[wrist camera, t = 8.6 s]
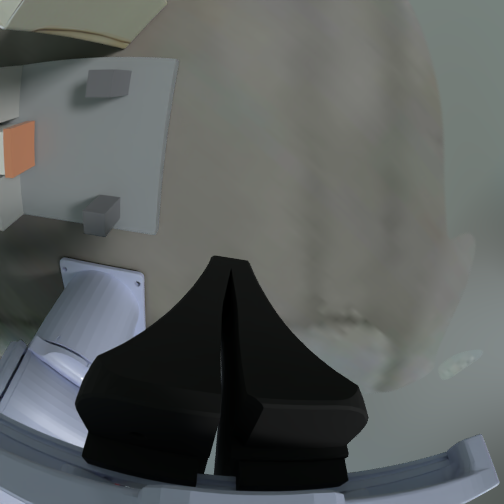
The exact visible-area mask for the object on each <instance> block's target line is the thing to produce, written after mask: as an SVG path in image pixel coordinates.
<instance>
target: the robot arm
mask: <svg viewBox="0 0 504 504" xmlns="http://www.w3.org/2000/svg"><path fill="white" fill-rule="evenodd" d="M65 267H66V268H67V269H66V268H65ZM60 268H61V274H62V279H63V284H64V290H63V292H62V293H61V295H60V296H59V298H58V299H57V301H56V302H55V304H54V305H53V307H52V308H51V310H50V312H49V313H48V315H47V316H46V318H45V319H44V321H43V323H42V324H41V326H40V328H39V329H38V331H37V333H36V334H35V336H34V338H33V339H32V341H31V342H30V343H29V345H28V346H27V345H26V344H25V343H24V342H23V341H22V340H19V341H18V342H17V341H12V342H10V344H9V346H8V347H7V349H6V351H5V352H4V354H3V356H2V357H1V359H0V504H465V503H467V502H468V501H471V500H473V499H474V498H476V497H478V496H480V495H481V494H484V493H485V492H487V491H489V490H490V489H492V488H494V487H495V486H497V485H498V484H499V480H498V477H497V474H496V471H495V468H494V465H493V462H492V460H491V457H490V455H489V452H488V449H487V446H486V444H485V441H484V439H483V437H482V434H478V435H475V436H472V437H470V438H466V439H464V440H462V441H460V442H458V443H456V444H455V445H454V446H452V447H451V448H450V449H449V450H448V451H447V452H444V453H440V454H437V455H434V456H430V457H426V458H423V459H419V460H415V461H411V462H407V463H402V464H398V465H393V466H388V467H383V468H377V469H372V470H366V471H359V472H352V473H347V469H346V464H345V458H347V457H348V448H347V444H348V443H349V442H350V441H351V440H352V439H353V438H354V437H355V436H356V435H357V434H359V433H360V432H361V430H362V429H363V428H364V427H365V425H366V424H367V421H368V414H367V410H366V407H365V403H364V400H363V397H362V394H361V392H360V389H359V387H358V385H356V384H355V383H353V382H352V381H350V380H349V379H347V378H345V377H344V376H342V375H341V374H339V373H338V372H336V371H335V370H334V369H332V368H331V367H330V366H328V365H327V364H326V363H324V362H323V361H322V360H321V359H319V358H318V357H317V356H316V355H315V354H314V353H312V352H311V351H310V350H309V349H308V348H307V347H306V346H305V345H304V344H303V343H302V342H301V341H300V340H299V339H298V338H297V337H296V336H295V335H294V334H293V333H292V332H291V330H290V329H289V328H288V327H287V326H286V325H285V323H284V322H283V321H282V319H281V318H280V317H279V315H278V314H277V313H276V311H275V310H274V308H273V307H272V305H271V304H270V302H269V300H268V299H267V297H266V295H265V294H264V292H263V290H262V288H261V287H260V285H259V283H258V281H257V279H256V277H255V275H254V273H253V270H252V268H251V266H250V263H249V262H248V261H246V260H240V259H234V258H227V257H221V256H213V257H211V259H210V262H209V264H208V266H207V267H206V269H205V271H204V272H203V274H202V275H201V276H200V278H199V279H198V280H197V282H196V283H195V284H194V286H193V287H192V288H191V289H190V290H189V291H188V292H187V294H186V295H185V296H184V297H183V298H182V299H181V300H180V301H179V302H178V303H177V304H176V305H175V306H174V307H173V308H172V309H171V310H170V311H169V312H168V313H166V314H165V315H164V316H163V317H161V318H160V319H159V320H158V321H156V322H155V323H154V324H153V325H151V326H150V327H148V328H147V329H146V324H145V294H144V275H143V274H142V273H141V272H138V271H133V270H127V269H122V268H116V267H111V266H106V265H101V264H96V263H90V262H85V261H80V260H76V259H71V258H66V257H63V258H62V259H61V260H60ZM136 281H138V282H139V283H140V284H138V283H137V282H136ZM26 346H27V347H26ZM25 348H26V349H25ZM217 427H218V432H217V444H216V456H215V468H214V475H209V474H204V472H205V468H206V464H207V460H208V458H209V456H210V453H211V449H212V446H213V442H214V438H215V435H216V431H217ZM115 483H116V484H120V485H124V486H119V485H116V484H115ZM125 486H128V487H125ZM131 487H132V488H131Z"/></svg>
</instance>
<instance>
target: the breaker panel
mask: <svg viewBox="0 0 504 504" xmlns="http://www.w3.org/2000/svg"><path fill="white" fill-rule="evenodd" d="M178 65H179V60H178V59H170V58H151V57H98V58H80V59H67V60H57V61H49V62H41V63H34V64H28V65H20V66H7V67H0V125H6V124H19V123H22V122H25V121H35V132H34V151H35V166H33V167H31V168H30V169H28V170H26V171H24V172H22V173H21V174H19V175H17V176H16V177H14V178H5V175H1V174H0V231H4V230H5V229H6V228H7V227H9V226H10V225H11V224H12V223H13V222H15V221H16V220H17V219H18V218H19V217H21V216H22V215H23V214H27V215H33V216H39V217H46V218H52V219H58V220H64V221H71V222H77V223H83V227H84V234H90V235H96V236H102V237H106V236H107V234H108V233H109V232H110V230H111V229H112V228H114V229H121V230H127V231H133V232H139V233H145V234H152V235H156V233H157V231H158V229H159V215H160V202H161V190H162V179H163V169H164V159H165V151H166V142H167V134H168V127H169V120H170V113H171V106H172V100H173V94H174V88H175V82H176V76H177V71H178Z"/></svg>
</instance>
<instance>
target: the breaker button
mask: <svg viewBox="0 0 504 504" xmlns="http://www.w3.org/2000/svg"><path fill="white" fill-rule="evenodd" d="M34 132H35V121H25V122H22V123H19V124H6V125H0V174H1V175H5V178H14V177H16V176H17V175H19V174H21V173H22V172H24V171H26V170H28V169H30V168H31V167H33V166H35V151H34Z"/></svg>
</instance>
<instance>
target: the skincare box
mask: <svg viewBox="0 0 504 504" xmlns="http://www.w3.org/2000/svg"><path fill="white" fill-rule="evenodd" d="M166 5H167V1H166V0H0V28H1V29H3V30H15V31H26V32H36V33H44V34H51V35H58V36H64V37H70V38H75V39H81V40H86V41H91V42H95V43H100V44H104V45H109V46H113V47H118V48H122V49H125V48H126V47H127V46H128V45H129V44H130V43H131V42H132V41H133V40H134V38H135V37H136V36H137V35H138V34H139V33H140V32H141V31H142V30H143V29H144V28H145V27H146V26H147V25H148V23H149V22H150V21H151V20H152V19H153V18H154V17H155V16H156V15H157V14H158V13H159V12H160V11H161V10H162V9H163V8H164V7H165V6H166Z"/></svg>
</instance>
